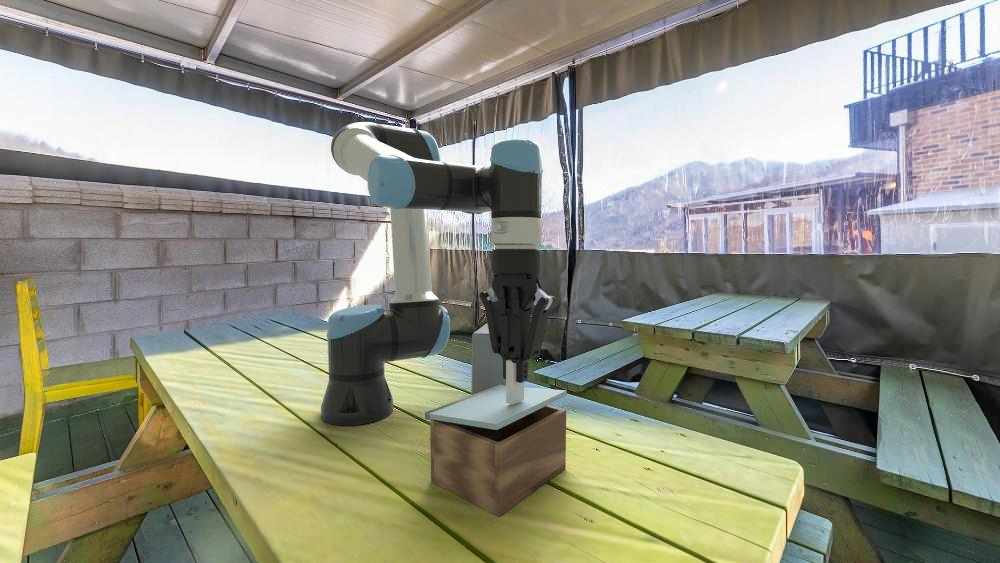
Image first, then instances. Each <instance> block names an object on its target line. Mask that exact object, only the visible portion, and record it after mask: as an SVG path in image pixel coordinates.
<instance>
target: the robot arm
mask: <svg viewBox="0 0 1000 563" xmlns="http://www.w3.org/2000/svg"><path fill="white" fill-rule="evenodd" d="M330 152H331V157H332V158H333V161H334V162H335V164H336V165H337V166H338V167H339V168H340V169H341V170H342V171H344V172H346V173H348V174H350V175H353V176H359V177H360V178H362V179H363V180H365V181H366V182H367V189H368V194H369V197H370V200H371V201H372V203H373V204H375V205H376V206H377V207H383V208H385V207H386V208H390V226H391V246H392V260H393V261H392V263H393V275H394V277H393V278H394V280H393V281H394V292H395V293H394V296H393V297H392V298H391V299H390V300H389V301H388V306H389V307H388V309H387V310H385V308H384V307H383V305H382V304H378V303H377V304H376V303H374V304H373V303H371V304H367V305H366V304H361V305H355V306H350V307H346V308H342V309H339V310H337V311H335V312H333V313H332V314H331V315H330V316H329V317H328V320H327V330H326V331H327V332H326V339H327V358H328V360H327V361H328V362H327V363H328V383H327V385H326V390H325V393H324V396H323V398H322V399H323V400H322V403H321V406H320V416H321V420H322V421H324V422H325V423H327V424H330V425H335V426H357V425H358V426H359V425H365V424H370V423H375V422H377V421H380V420H382V419H384V418H386V417H388V416H390V415H391V413H393V411H394V399H393V395H392V392H391V390H390V388H389V385H388V382H387V379H386V377H385V374H386V373H385V364H386V363H389V362H396V361H397V362H398V361H403V360H410V359H411V360H412V359H417V358H423V359H425V358H427V357H431V356H435V355H439V354H441V353H442V352H443V350H445V348H446V346H447V344H448V342H449V339H450V334H451V319H450V316H449V312H448V309H447V308H446V307H444V306H442V305H440V299H439V297H437V295H435V293H434V292H433V284H432V268H431V252H430V251H431V250H430V249H431V248H430V234H429V217H428V210H431V211H432V210H434V211H435V210H436V211H437V210H438V211H451V212H462V213H464V214H469V215H471V214H473V215H474V214H475V215H481V214H483V213H487V212H490V219H491V220H490V222H491V225H490V226H491V227H490V229H491V230H490V231H491V233H490V234H491V235H490V237H491V238H490V241H491V245H492V246H494V247H495V249H493V248H492V250H491V251H490V272H491V273H492V274H493V279H492V281H491V287H490V288H489V289H487V290H486V291H481V292H479V298H480V300H481V302H482V304H483V307H484V313H485V317H486V324H488V329H489V335H490V341H491V346H492V351H493V353H498V354H499V355H501V357H502V359H503V377H504V379H506V403H509V404H513V405H514V404H516V403H518V402H521V401H523V400H524V387H525V382H527V381H528V380H529V376H528V375H529V361H530V360H532V359H536V358H538V357H540V354H541V350H542V345H543V342H544V336H545V332H546V328H547V322H548V319H549V314H550V311H551V309H552V308H553V306H554V304H555V302H556V298H555V296H553V295H548V294H547V293H546V292H545V291H544V290H542V289H543V288H542V283H541V281H540V274H541V271H542V251H540V249H538V246H541V244H542V205H543V203H542V202H543V201H542V199H543V173H544V169H543V163H542V162H543V161H542V158H543V157H542V148H541V146H540V145H539V144H538V143H537V142H535V141H533V140H529V139H524V138H523V139H522V138H508V139H502V140H498V141H496V142H495V143H493V144H492V147H491V153H490V158H489V161H490V162H489V163H487V164H483V165H473V164H472V165H471V164H464V163H457V162H455V163H454V162H446V161H441V154H440V149H439V146H438V143H437V141H436V139H435V138H434V137H433V135H432V134H431V133H429V132H427V131H425V130H419V129H417V128H413V127H410V128H408V127H402V126H394V125H390V124H389V125H387V124H382V123H375V122H370V121H361V122H360V121H359V122H353V123H350V124H349V123H348V124H347V125H344V126H342V127H341V128H340V129H338V130H337V131H336V132H335V134H333V137H332V140H331V143H330ZM533 304H534V306H535V307H534V308H533Z"/></svg>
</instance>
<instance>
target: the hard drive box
mask: <svg viewBox="0 0 1000 563" xmlns="http://www.w3.org/2000/svg"><path fill="white" fill-rule="evenodd" d="M471 338H472V340H471V394H470V395H473V394H476V393H478V392H481V391H484V390H486V389H489V388H492V387H494V386H497V385H500V384H501V385H503V386H506V379H504V377H503V359H502V357H501V355H499V354H498V353H493V351H492V346H491V341H490V335H489V329H488V324H487V323H485V325H482V326H481V327H479V329H477V330H476V331H474V332H473V333H472V334H471Z"/></svg>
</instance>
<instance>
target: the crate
mask: <svg viewBox="0 0 1000 563" xmlns="http://www.w3.org/2000/svg"><path fill="white" fill-rule="evenodd" d="M429 420H430V422H429V423H430V424H429V425H430V426H429V428H430V429H429V430H430V432H429V433H430V438H429V440H430V482H431V483H433V484H435V485H437V486H438V487H440V488H442V489H445V490H447V491H448V492H450V493H452V494H454V495H456V496H458V497H460V498H461V499H464V500H465V501H467V502H469V503H470V504H473V505H475V506H477V507H480V509H482V510H485V511H487V512H488V513H490V514H493V515H495V516H496V517H498V518H501V517H502V516H504V515H505V514H506V513H508V512H509V511H510V510H512V509H513V508H514V507H516V506H517V505H518V504H520V503H521V502H522V501H524V500H525V499H526V498H528V497H529V496H531V495H532V494H533V493H535V492H536V491H538V490H539V489H540V488H542V487H543V486H544V485H545V484H547V483H548V482H550V481H551V480H552V479H554V478H555V477H556V476H557V475H559V474H560V473H562V472H563V471H564V470H566V467H567V466H566V460H567V459H566V458H567V457H566V454H567V452H566V450H567V409H564V408H560V407H557V406H555V405H554V406H553V405H550V404H549V405H547V406H545V407H543V408H541V409H539V410H536V411H534V412H532V413H530V414H528V415H526V416H524V417H522V418H520V419H518V420H516V421H514V422H512V423H510V424H508V425H506V426H504V427H502V428H500V429H498V430H494V429H488V428H482V427H476V426H470V425H464V424H458V423H452V422H445V421H439V420H433V419H429Z"/></svg>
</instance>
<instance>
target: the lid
mask: <svg viewBox="0 0 1000 563" xmlns="http://www.w3.org/2000/svg"><path fill="white" fill-rule="evenodd" d="M567 396H568V391H567V390H566V389H565V390H562V389H551V388H540V387H539V388H538V387H525V386H524V400H523V401H521V402H518V403H516V404H514V405H513V404H509V403H506V386H503V385H501V384H500V385H497V386H494V387H492V388H489V389H486V390H484V391H481V392H478V393H476V394H473V395H471V394H470V395H468V396H466V397H462V398H459V399H458V400H454V401H453V402H449V403H446V404H444V405H441V406H439V407H436V408H433V409H431V410H428V411H425V412H424V418H425V420H430V419H433V420H439V421H445V422H452V423H458V424H464V425H470V426H476V427H482V428H488V429H494V430H498V429H500V428H502V427H504V426H506V425H508V424H510V423H512V422H514V421H516V420H518V419H520V418H522V417H524V416H526V415H528V414H530V413H532V412H534V411H536V410H539V409H541V408H543V407H545V406H547V405H550V404H552V403H554V402H556V401H558V400H561V399H563V398H564V397H567Z"/></svg>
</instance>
